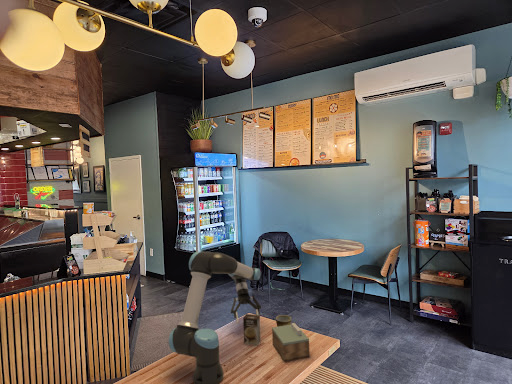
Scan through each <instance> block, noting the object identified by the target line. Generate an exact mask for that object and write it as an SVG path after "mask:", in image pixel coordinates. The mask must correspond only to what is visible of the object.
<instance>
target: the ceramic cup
mask: <svg viewBox="0 0 512 384" xmlns="http://www.w3.org/2000/svg"><path fill="white" fill-rule="evenodd" d="M275 323H276V327H278V326H285V325H291V323H292V317H291V316H290V315H287V314H278V315H277V316H276V317H275Z"/></svg>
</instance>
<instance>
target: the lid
mask: <svg viewBox="0 0 512 384" xmlns="http://www.w3.org/2000/svg"><path fill="white" fill-rule="evenodd" d="M272 330H273V331H274V333H275V334H276V336H277V337H278V339H279V340H280V341H281V343H282V344H283V345H289V344H295V343H301V342H306V341H309V342H310V338H309V337H308V336H307V335H306V334H305V332H303V330H302V329H301V328H300V327H299V326H298V325H297V324H296V322H291V325H285V326H278V327H277V326H274V327H271V331H272Z"/></svg>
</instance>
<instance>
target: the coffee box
mask: <svg viewBox="0 0 512 384" xmlns="http://www.w3.org/2000/svg"><path fill="white" fill-rule="evenodd" d="M242 321H243V323H242V324H243V344H245V345H251V346H259V344H260V343H261V316H260V314H259V315H256V314H245V315H244V316H243V319H242Z"/></svg>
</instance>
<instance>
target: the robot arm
mask: <svg viewBox="0 0 512 384" xmlns="http://www.w3.org/2000/svg"><path fill="white" fill-rule="evenodd" d="M188 268H189V270H190V275H191V276H192V278H191V281H190V285H189V289H188V293H187V296H186V300H185V301H186V302H185V305H184V309H183V312H182V316H181V320H180V321H179V322H178V323H177V324H176V327H175V328H173V329H172V330H171V331H170V334H169V336H168V347H169V349H170V350H171V351H172V353H175V354H178V355H183V356H188V357H192V358H195V367H194V371H193V375H192V381H193V384H220V383H221V382H222V381H223V379H224V370H223V367H222V365H221V363H220V347H219V346H220V341H219V335H218V333H217V332H216V331H215V330H213V329H211V328H201V329H200V327H199V326H198V323H199V322H198V321H199V318H200V317H199V316H200V312H201V310H202V309H201V308H202V304H203V302H204V301H203V300H204V297H205V292H206V288H207V282H208V280H209V279H211V278H212V274H223V275H224V274H227V275H228V276H229V277H231V279H232V280H233V281H234V282H235V289H236V293H237V297H234V298H233V304H232V306H231V309H230V313H231V314H233V317H234V319H235V320H236V324H237V325H238V324H239V323H240V322H239V315H238V310H239V308H240V307H241V305H248V304H249V305H250V307H252V308H253V309H255V315H260V314H261V313H260V310H261V309H262V305H261V304H260V303H259V302H258V301H257V299H256V297H255V296H254V294H252V295H251V296H250V293H249V290H248V289H249V288H248V284H247V280H253V281H259V280H260V278H261V270H260V268H256V267H252V266H248V265H246V264H244V263H241V262H239V261H237V259H235V258H234V257H232V256H230V255H228V254H224V253H222V252H213V251H212V252H211V251H195V252H194V253H193V254H192V255H191V256H190V258H189V261H188ZM237 302H238V304H237V306H236V307H235V305H236V303H237Z"/></svg>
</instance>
